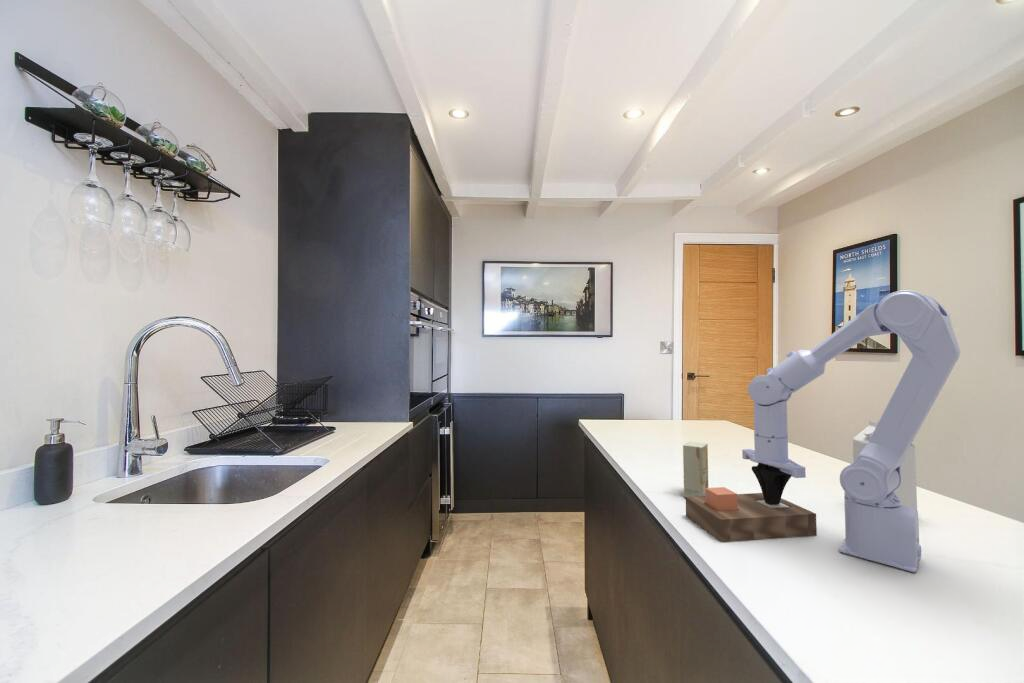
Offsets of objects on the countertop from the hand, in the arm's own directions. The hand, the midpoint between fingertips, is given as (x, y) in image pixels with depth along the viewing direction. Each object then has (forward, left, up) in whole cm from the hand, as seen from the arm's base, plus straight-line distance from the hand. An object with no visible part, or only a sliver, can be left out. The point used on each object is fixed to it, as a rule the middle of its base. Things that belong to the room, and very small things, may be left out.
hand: (772, 504), depth 83 cm
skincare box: (+18, -5, -4) cm, 19 cm away
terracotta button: (+6, +9, -1) cm, 11 cm away
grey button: (0, 0, -4) cm, 4 cm away
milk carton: (-14, -22, -4) cm, 27 cm away
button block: (+3, +5, -4) cm, 7 cm away
